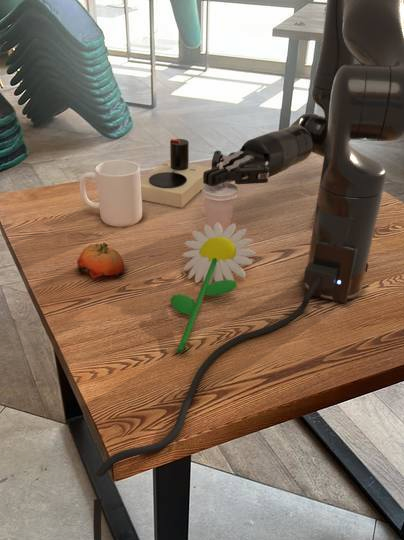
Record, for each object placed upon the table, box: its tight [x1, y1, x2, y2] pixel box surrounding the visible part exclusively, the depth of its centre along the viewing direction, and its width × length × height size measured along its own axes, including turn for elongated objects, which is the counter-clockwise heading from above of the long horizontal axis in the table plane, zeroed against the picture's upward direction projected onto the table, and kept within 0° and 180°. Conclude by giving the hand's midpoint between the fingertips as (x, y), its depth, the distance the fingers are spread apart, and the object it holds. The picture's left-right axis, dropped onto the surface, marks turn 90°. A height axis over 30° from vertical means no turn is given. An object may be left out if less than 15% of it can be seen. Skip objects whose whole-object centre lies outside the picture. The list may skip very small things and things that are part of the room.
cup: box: [79, 159, 143, 228], centre depth 110 cm, size 8×12×10 cm
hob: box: [140, 159, 212, 209], centre depth 124 cm, size 17×11×3 cm, turn 157°
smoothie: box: [201, 162, 239, 233], centre depth 103 cm, size 6×6×14 cm
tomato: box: [76, 242, 125, 279], centre depth 96 cm, size 8×7×7 cm
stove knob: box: [169, 138, 190, 170], centre depth 125 cm, size 4×4×6 cm
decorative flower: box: [170, 222, 257, 354], centre depth 90 cm, size 13×5×30 cm
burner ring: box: [149, 172, 187, 188], centre depth 121 cm, size 8×8×1 cm
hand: (207, 179), depth 98 cm, fingers closed on smoothie, 1 cm apart
